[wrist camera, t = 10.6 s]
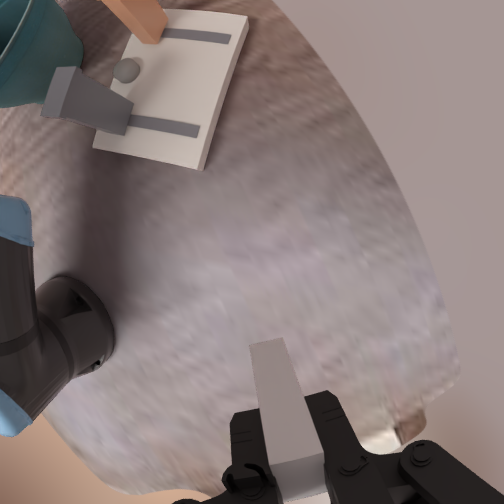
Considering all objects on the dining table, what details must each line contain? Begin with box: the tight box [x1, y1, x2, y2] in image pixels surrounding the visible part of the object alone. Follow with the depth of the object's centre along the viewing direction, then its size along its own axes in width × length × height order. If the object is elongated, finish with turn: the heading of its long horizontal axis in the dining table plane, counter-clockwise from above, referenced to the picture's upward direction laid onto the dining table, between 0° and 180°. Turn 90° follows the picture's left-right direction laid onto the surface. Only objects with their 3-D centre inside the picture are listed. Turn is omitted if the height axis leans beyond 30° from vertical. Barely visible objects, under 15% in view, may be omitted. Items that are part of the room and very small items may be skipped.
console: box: [92, 9, 249, 171], centre depth 30 cm, size 14×20×4 cm
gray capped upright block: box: [40, 66, 134, 136], centre depth 24 cm, size 2×4×12 cm, turn 164°
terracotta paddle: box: [97, 0, 168, 44], centre depth 21 cm, size 2×4×12 cm, turn 164°
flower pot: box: [0, 0, 84, 108], centre depth 23 cm, size 18×18×17 cm
